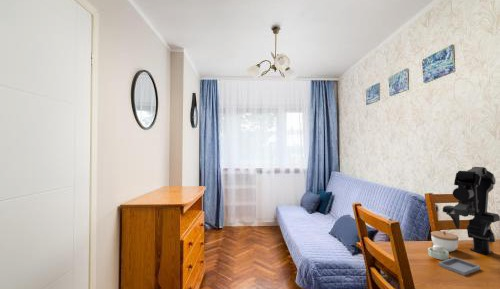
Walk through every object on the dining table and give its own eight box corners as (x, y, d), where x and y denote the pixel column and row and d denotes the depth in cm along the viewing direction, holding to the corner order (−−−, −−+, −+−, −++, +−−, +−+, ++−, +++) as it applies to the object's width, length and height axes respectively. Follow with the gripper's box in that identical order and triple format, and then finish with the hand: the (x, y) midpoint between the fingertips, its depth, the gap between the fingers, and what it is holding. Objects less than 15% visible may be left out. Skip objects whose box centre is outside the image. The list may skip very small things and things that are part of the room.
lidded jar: (464, 255, 111) (463, 235, 111) (439, 253, 113) (438, 234, 113) (450, 246, 121) (449, 228, 122) (427, 244, 124) (426, 227, 124)
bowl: (434, 252, 114) (434, 246, 114) (452, 258, 107) (452, 252, 107) (424, 255, 111) (424, 249, 112) (442, 262, 104) (442, 255, 105)
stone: (431, 254, 111) (430, 245, 111) (436, 253, 112) (436, 244, 112) (440, 258, 107) (440, 248, 107) (445, 256, 108) (445, 247, 108)
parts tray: (454, 261, 105) (454, 257, 105) (480, 270, 97) (480, 266, 97) (438, 266, 100) (438, 262, 101) (464, 276, 92) (464, 272, 92)
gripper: (435, 195, 112) (436, 228, 112) (486, 203, 95) (487, 241, 94) (448, 194, 116) (450, 225, 116) (499, 201, 99) (501, 237, 99)
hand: (470, 231), depth 106 cm, fingers open, 9 cm apart
